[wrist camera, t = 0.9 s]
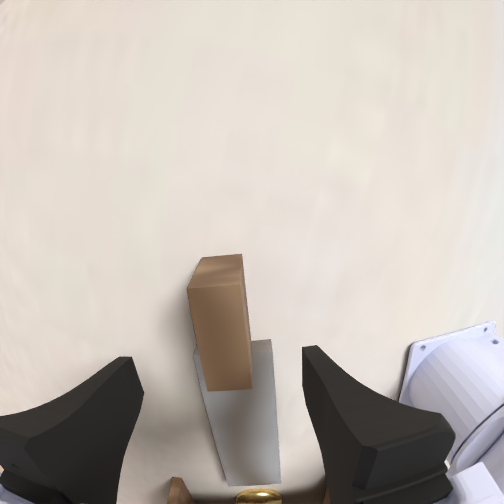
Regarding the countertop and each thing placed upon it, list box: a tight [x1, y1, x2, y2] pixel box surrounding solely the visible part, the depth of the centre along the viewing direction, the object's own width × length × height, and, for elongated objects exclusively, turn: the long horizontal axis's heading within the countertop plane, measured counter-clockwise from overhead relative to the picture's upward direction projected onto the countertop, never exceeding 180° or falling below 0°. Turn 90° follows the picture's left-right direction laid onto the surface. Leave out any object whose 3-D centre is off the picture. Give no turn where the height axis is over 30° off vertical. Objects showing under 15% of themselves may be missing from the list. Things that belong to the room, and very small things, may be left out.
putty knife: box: [187, 254, 281, 486], centre depth 19 cm, size 5×22×5 cm, turn 5°
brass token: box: [236, 489, 282, 504], centre depth 25 cm, size 5×5×1 cm
